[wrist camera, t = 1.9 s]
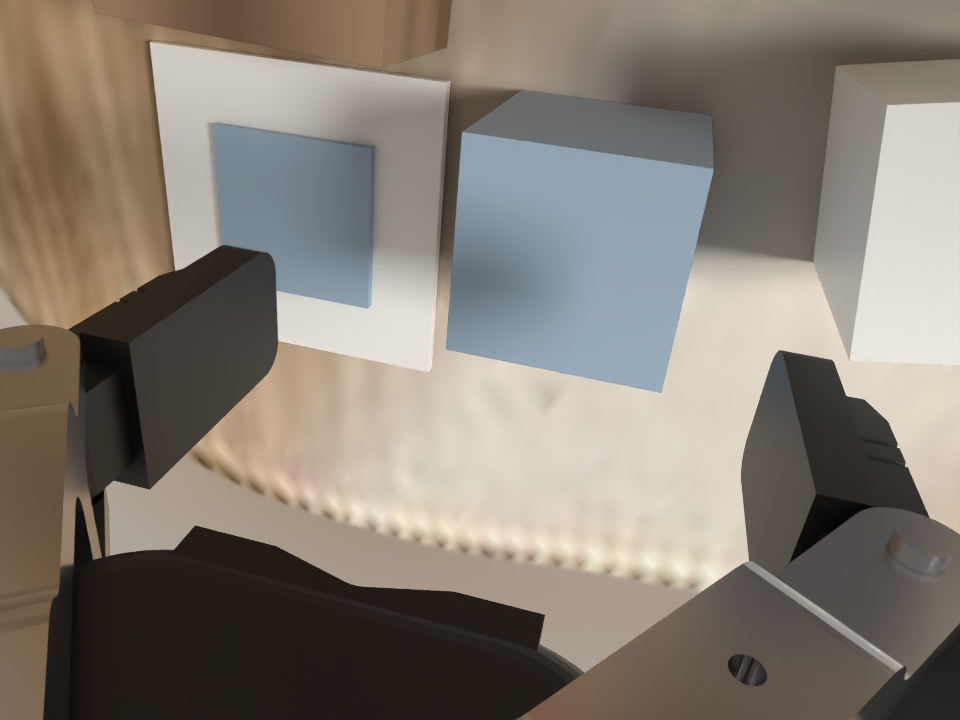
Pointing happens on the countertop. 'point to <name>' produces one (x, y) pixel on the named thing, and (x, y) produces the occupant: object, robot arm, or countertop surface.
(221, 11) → the walnut base
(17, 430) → the robot arm
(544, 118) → the slate block
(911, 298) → the white block
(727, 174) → the countertop surface
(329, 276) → the card
